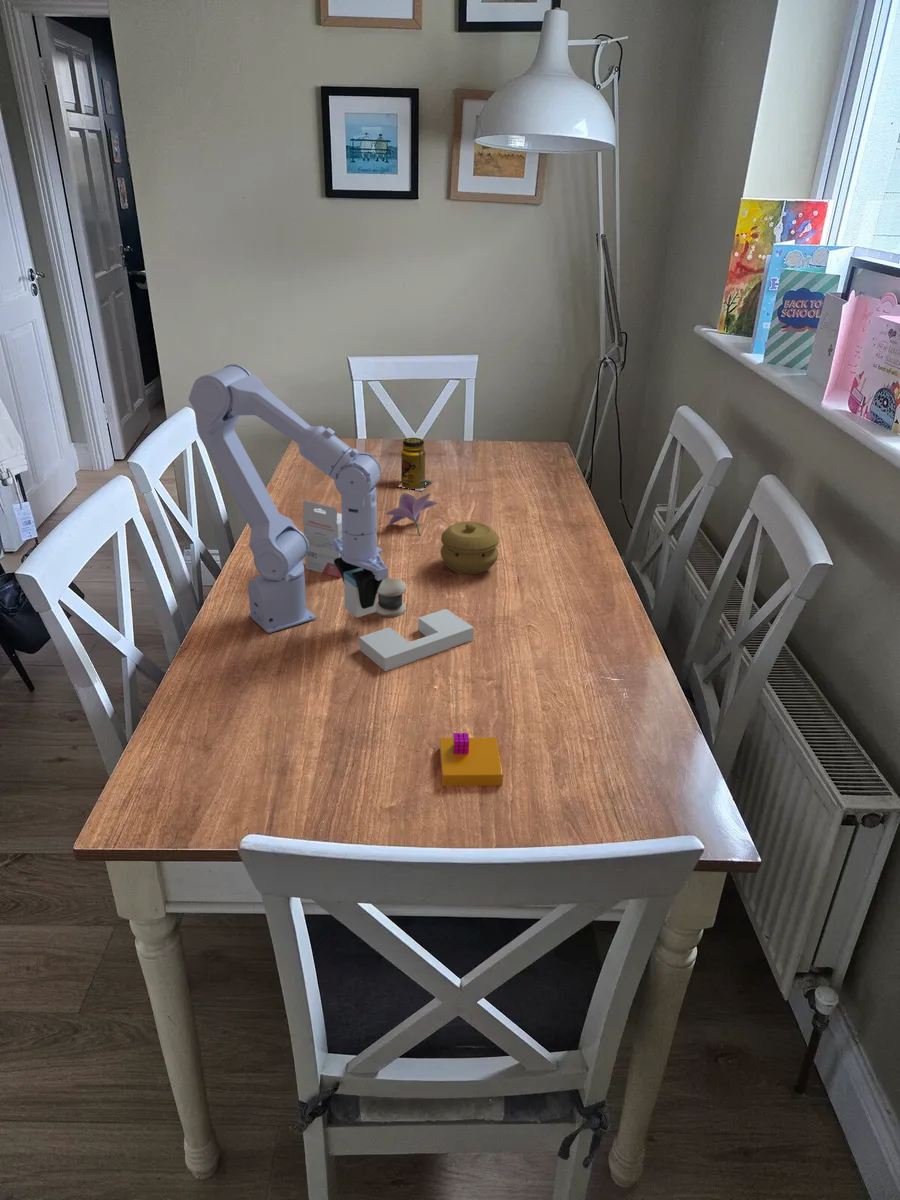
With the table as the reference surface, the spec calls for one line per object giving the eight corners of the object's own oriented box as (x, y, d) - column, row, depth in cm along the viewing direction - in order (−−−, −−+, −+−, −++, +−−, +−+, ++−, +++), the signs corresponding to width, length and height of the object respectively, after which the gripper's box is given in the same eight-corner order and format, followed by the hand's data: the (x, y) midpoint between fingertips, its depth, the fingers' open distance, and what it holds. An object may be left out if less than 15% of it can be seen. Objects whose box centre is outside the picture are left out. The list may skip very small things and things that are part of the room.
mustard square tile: (495, 749, 114) (497, 725, 112) (502, 787, 107) (504, 762, 105) (439, 750, 114) (440, 725, 112) (442, 788, 107) (443, 763, 105)
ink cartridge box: (353, 569, 163) (352, 501, 156) (339, 578, 159) (337, 509, 152) (319, 560, 167) (316, 492, 160) (304, 568, 163) (300, 500, 156)
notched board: (385, 671, 130) (385, 658, 129) (359, 649, 136) (359, 637, 135) (472, 639, 140) (473, 627, 139) (445, 620, 146) (445, 608, 144)
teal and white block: (356, 617, 138) (355, 581, 135) (344, 608, 141) (343, 572, 138) (376, 611, 140) (376, 575, 137) (364, 602, 143) (364, 566, 140)
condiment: (395, 487, 206) (395, 441, 200) (408, 477, 213) (408, 433, 207) (421, 491, 204) (422, 445, 198) (433, 481, 211) (435, 436, 205)
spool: (385, 619, 145) (385, 595, 143) (369, 607, 149) (368, 583, 147) (411, 611, 148) (411, 587, 146) (394, 599, 152) (394, 575, 150)
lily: (445, 528, 186) (433, 488, 186) (442, 528, 175) (430, 485, 174) (395, 543, 187) (384, 503, 186) (389, 543, 175) (377, 501, 175)
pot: (507, 565, 167) (510, 520, 163) (480, 586, 158) (482, 539, 154) (458, 551, 172) (460, 508, 168) (429, 571, 163) (430, 526, 159)
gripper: (404, 538, 131) (403, 612, 137) (357, 510, 141) (358, 579, 147) (366, 548, 127) (367, 623, 133) (321, 518, 137) (324, 589, 143)
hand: (360, 601), depth 140 cm, fingers closed on teal and white block, 4 cm apart
